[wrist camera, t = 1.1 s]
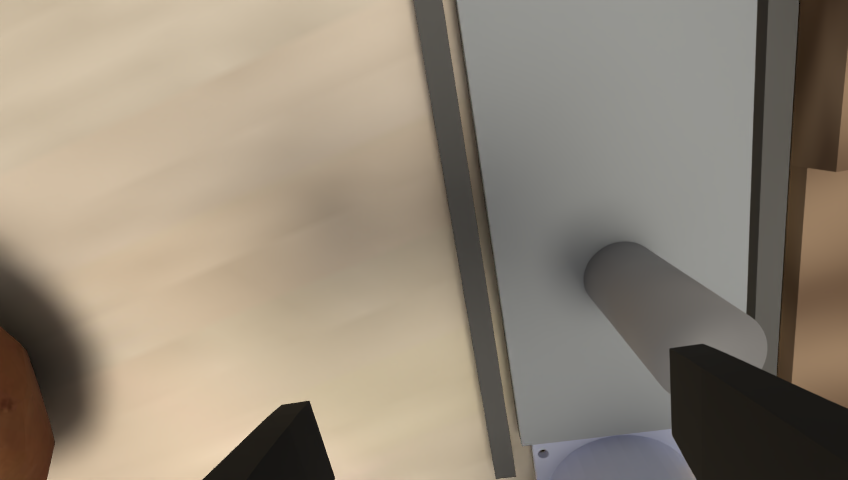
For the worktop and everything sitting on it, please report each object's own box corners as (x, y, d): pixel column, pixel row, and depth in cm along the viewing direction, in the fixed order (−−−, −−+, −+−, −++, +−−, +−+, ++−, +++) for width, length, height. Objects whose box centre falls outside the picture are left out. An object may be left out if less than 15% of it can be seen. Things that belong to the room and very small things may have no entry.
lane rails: (1146, 392, 19) (1176, 404, 18) (494, 465, 22) (496, 478, 21) (1462, -498, 11) (1537, -544, 10) (378, -204, 14) (374, -223, 13)
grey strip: (730, 408, 20) (872, 553, 13) (519, 433, 21) (554, 580, 14) (748, -268, 13) (1064, -663, 6) (428, -183, 14) (414, -451, 7)
